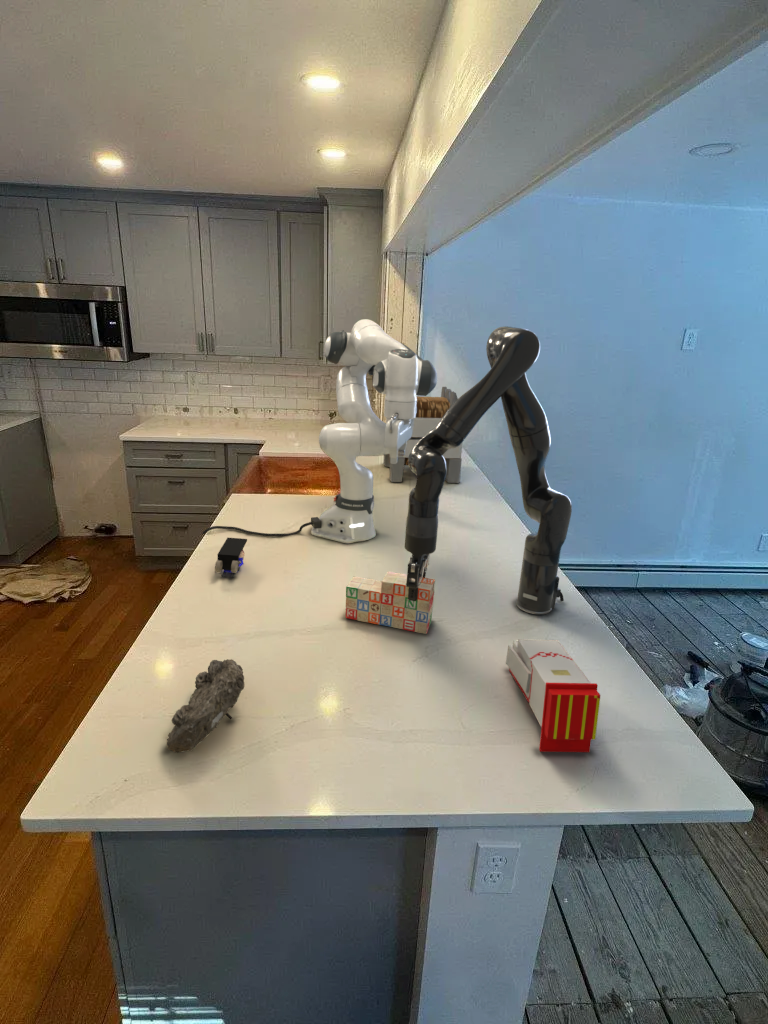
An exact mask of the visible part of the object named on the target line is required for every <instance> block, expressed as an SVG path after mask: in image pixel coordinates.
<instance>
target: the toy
mask: <svg viewBox="0 0 768 1024" xmlns="http://www.w3.org/2000/svg"><path fill="white" fill-rule="evenodd" d="M505 659H506V660H505V665H506V666H507V667H508V671H509V673H510V674H511V676H512V678H513V679H514V681H515V682H516V685H517V686H518V688H519V690H520V691H521V692H522V694H523V697H525V699H526V701H527V703H529V707H530V709H531V711H532V712H533V714H534V716H535V718H536V720H537V722H538V724H539V726H540V728H541V729H540V739H539V748H538V751H539V752H540V753H543V752H544V753H590V752H591V744H592V743H591V742H592V740H596V736H597V727H598V720H599V719H598V718H599V710H600V704H601V703H600V702H601V696H602V695H601V694H600V693H599V692H598V687H599V686H598V683H595V682H594V683H592V682H591V681H590V679H589V678H588V677H587V676H586V674H585V673H584V671H583V670H582V669H581V668H580V666H579V665H578V664H577V663H576V662H575V661H576V660H574V659H573V658H572V656H571V655H570V653H568V651H567V650H566V648H565V647H564V645H563V644H562V643H561V642H560V641H559V639H529V638H528V639H524V638H521V639H517V640H512V645H511V644H510V645H509V644H508V646H507V653H506V658H505Z"/></svg>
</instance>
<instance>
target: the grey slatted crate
mask: <svg viewBox="0 0 768 1024" xmlns="http://www.w3.org/2000/svg"><path fill="white" fill-rule="evenodd" d="M440 393H441V394H440V396H419V395H416V398H417V405H416V406H417V413H416V418H414V426H413V433H412V436H411V438H410V439H409V440H408V441H407V445H406V449H405V455H404V456H403V457H401V456H398V452H397V457H398V462H397V463H396V464H391V463H390V458H391V457H390V454H386V455H383V466H384V467H388V468H389V475H388V476H389V477H388V478H389V480H390V482H391V483H402V482H403V475H404V469H405V466H406V467H407V466H408V457H409V454H410V452H411V451H412V449H413V448H414V446H415V445H416V444H417V443H418V442H419V441H420V440H421V439H422V438H423V437H424V436H426V435H427V434H428V433H429V432H430V431H431V430H433V429H434V428H435V427H436V425H437V424H438V423H439V421H440V420H441V418H442V417H443V416H444V414H445V413H446V412H447V411H448V409H449V408H450V407H451V406H452V404H453V403H454V402H455V401H456V400H457V399H458V398H459V397H458V395H457V392H455V391H453V390H452V389H451V388H447V386H442V387H441V392H440ZM388 420H389V419H388V418H386V417H385V423H386V424H387V422H388ZM463 442H464V441H463ZM463 442H462V443H461V445H460V446H458V447H457V448H451V449H449V450H448V451H447V452H446V453H445V454H443V457H444V459H445V461H446V466H447V472H446V478H445V481H446V482H447V483H449V484H455V483H456V484H459V483H461V472H462V461H463V460H462V453H463ZM398 450H399V449H398ZM408 467H409V466H408Z"/></svg>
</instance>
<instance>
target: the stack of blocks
mask: <svg viewBox="0 0 768 1024" xmlns="http://www.w3.org/2000/svg"><path fill="white" fill-rule="evenodd" d="M412 582H415V579H413V578H412ZM406 583H407V573H399V572H395V571H387V572H386V573H385V574H384V577H383V579H382V580H377V579H372V578H366V577H365V578H364V577H359V576H353V577H352V578H351V579H350V580H349V582H348V583H347V584H346V585H345V619H349V620H354V621H358V622H364V623H369V624H374V625H378V626H379V625H380V626H384V627H391V628H395V629H401V630H404V631H409V632H414V633H415V632H416V633H418V634H423V635H427V634H428V631H429V629H430V626H431V624H432V618H433V606H434V599H435V598H434V597H435V596H434V595H435V587H436V586H435V584H436V579H435V578H428V577H425V578H423V577H422V578H421V579H420V582H419V587H418V599H417V601H411V600H409V599H408V591H409V587H406Z"/></svg>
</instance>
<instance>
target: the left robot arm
mask: <svg viewBox="0 0 768 1024" xmlns="http://www.w3.org/2000/svg"><path fill="white" fill-rule="evenodd" d="M323 347H324V349H323V350H324V357H325V359H326V361H328V362H329V363H331V364H335V365H341V366H343V367H342V368H341V369H339V371H338V372H337V375H336V381H335V395H336V396H335V397H336V406H337V412H338V415H339V416H340V418H341V419H342V420H343V421H344V422H335V423H330V424H326V425H323V427H322V429H321V430H320V432H319V435H318V445H319V447H320V450H321V451H322V452H323V453H324V454H325V455H326V456H328V457H329V458H330V459H331V460H332V462H333V463H334V464H335V466H336V467H337V470H338V474H339V483H340V484H339V485H340V488H339V489H340V490H339V491H338V492H337V494H336V495H335V496H334V497H333V502H334V504H333V505H331V506H329V507H328V508H326V509H325V510H323V512H321V514H320V515H319V516H312V517H310V521H309V522H306V523H303V524H302V525H301V526H299V529H298V530H296V531H294V532H290V533H289V532H288V533H266V532H265V533H264V532H257V531H251V530H247V529H243V528H240V527H237V526H228V525H227V526H226V525H224V526H223V525H213V526H210V527H208V528H207V527H206V529H204V530H203V531H202V533H201V534H202V535H205V534H206V533H208V532H209V531H212V530H218V529H220V530H234V531H238V532H241V533H245V534H249V535H254V536H255V535H256V536H261V537H289V536H293V535H294V536H295V535H298V534H300V533H301V532H302V531H303V529H304V528H305V527H308V526H312V528H311V530H310V533H311V536H315V537H319V538H323V539H326V540H330V541H336V542H339V543H343V544H352V543H357V542H365V541H368V540H372V539H373V538H375V537H376V535H377V532H376V528H375V523H374V513H373V512H374V509H375V496H374V474H373V472H372V471H371V469H369V468H368V467H366V466H364V465H362V464H360V463H359V462H357V460H356V459H357V458H358V457H380V456H384V455H386V454H390V457H391V458H390V463H391V464H396V463H397V462H398V457H397V452H398V456H401V457H403V456H404V455H405V449H406V445H407V441H408V440H409V439H410V438H411V436H412V433H413V426H414V418H416V413H417V406H416V405H417V398H416V397H417V396H419V397H427V396H428V395H429V394H430V393H432V391H433V390H434V389H435V388H436V386H437V383H438V373H437V370H436V369H437V368H436V367H435V366H434V365H433V364H432V362H431V361H430V360H428V359H423V358H422V357H420V355H418V354H417V353H416V352H414V351H413V349H411V347H409V346H407V345H406V344H404V343H402V342H400V341H399V340H397V339H395V338H393V337H392V336H391V335H389V334H388V333H387V332H386V331H385V330H384V329H383V328H382V326H380V325H379V324H378V323H377V322H375V321H374V320H372V319H368V318H362V319H360V320H357V322H355V323H354V324H353V326H352V328H351V331H350V332H346V331H345V330H344V329H342V330H340V331H333V332H331V333H330V334H329V335H327V337H326V339H325V343H324V346H323ZM367 374H368V376H372V381H371V382H372V387H373V388H374V389H375V390H376V392H378V393H379V394H382V395H385V397H384V407H383V409H384V410H383V417H384V418H385V419H386V418H388V419H389V420H388V422H387V423H386V422H384V421H383V420H382V419H381V418H379V417H378V416H377V415H376V413H375V412H374V410H373V408H372V404H371V401H370V396H369V389H368V384H367ZM398 449H399V450H398Z"/></svg>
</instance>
